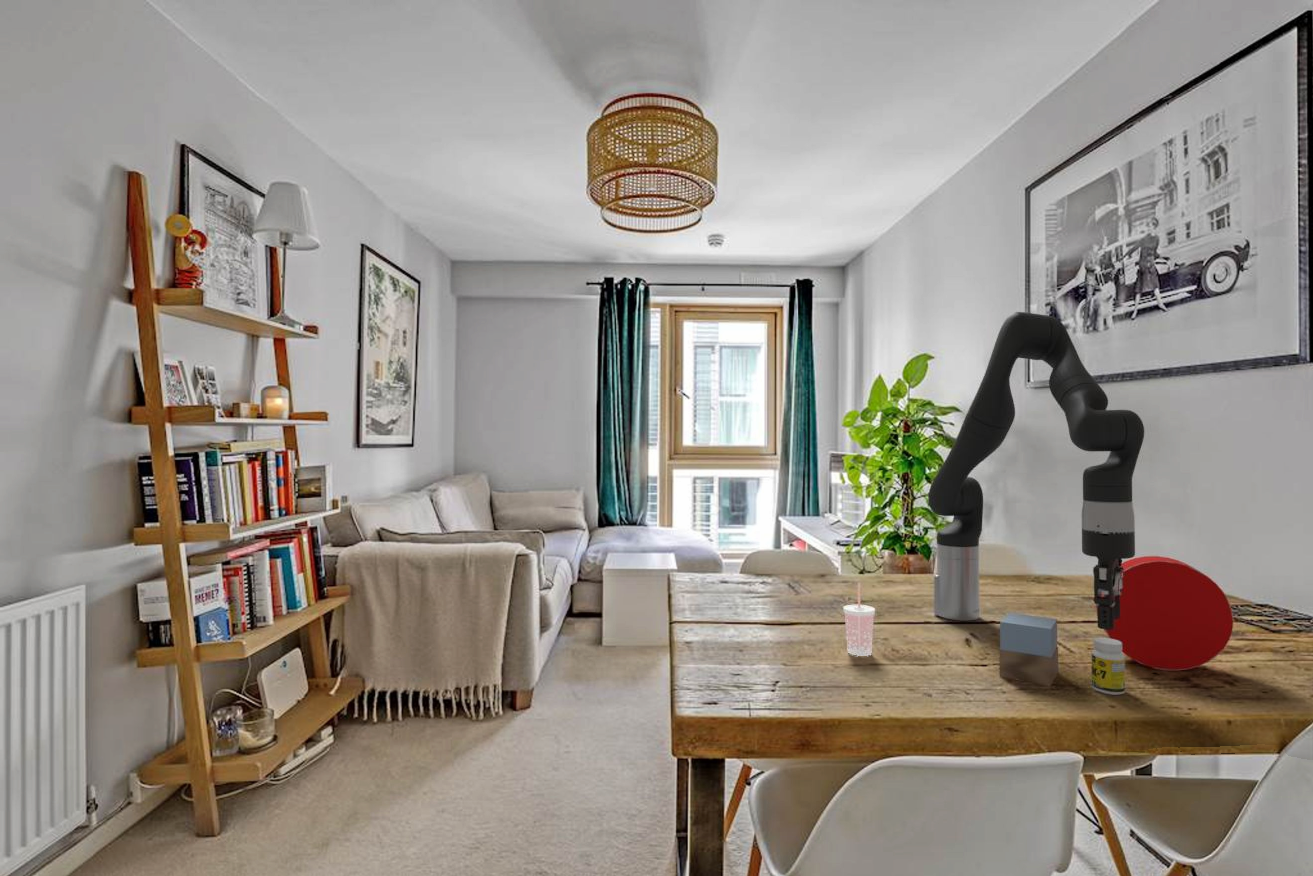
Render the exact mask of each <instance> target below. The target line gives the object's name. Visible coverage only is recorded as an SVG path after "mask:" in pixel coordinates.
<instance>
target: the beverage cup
mask: <svg viewBox="0 0 1313 876" xmlns="http://www.w3.org/2000/svg"><path fill="white" fill-rule="evenodd" d="M842 609H843V613H844V619H845V620H844V621H845V633H846V634H845V637H846V648H847V651H848V652H847V651H846V652H847V654H848V653H850V654H852V655H851V656H853V655H857V656H856V657H858V656H867V657H869V656H868V655H870V656H871V655H872V654H871V653H872V652H873V636H874V635H873V633H874V618H875V614H876V609H875V607H872V606H870V605H865V604H861V583H860V582H857V604H848V605H844V606H842ZM850 654H849V655H850Z"/></svg>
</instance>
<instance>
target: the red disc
mask: <svg viewBox="0 0 1313 876" xmlns="http://www.w3.org/2000/svg"><path fill="white" fill-rule="evenodd" d="M1122 567H1123V569H1124V573H1123V589H1122V591H1121V592H1122V595H1121V597H1120V618H1119V619H1114V628H1113V630H1105V629H1103V631H1104V632H1105V633H1106V635H1107V637H1108V638H1110V639H1115V640H1118V641H1120V642H1122V652H1121V653H1122V654H1123V655H1126V656H1127V657H1129V658H1130V660H1131V659H1132V660H1133V661H1135V662H1136V663H1139V664H1141V665H1144V666H1147V667H1150V668H1152V669H1157V670H1163V671H1183V670H1184V671H1185V670H1189V669H1193V668H1198V667H1200V666H1202V665H1204V664H1207V663H1209V662H1211V661H1212V660H1213V659H1215V658H1216V657H1217V656H1219V655H1220V653H1221V652H1222V651H1223V650H1224V649H1225V647H1226V646H1227V644H1228V642H1229V641H1230V639H1231V636H1232V633H1233V629H1234V628H1233V626H1234V614H1233V610H1232V607H1231V603H1230V600H1229V599H1228V597H1227V596H1226V594H1225V592H1224V591H1223V590H1222V589H1221V587H1220V586H1219V585H1218V584H1217V583H1216V582H1215V581H1214V580H1213V579H1212V578H1211V577H1209V576H1208V575H1206V574H1204V573H1203V572H1201V571H1200V570H1198V569H1196V568H1195V567H1193V566H1191V565H1189V564H1188V563H1185V562H1183V561H1180V560H1179V559H1178V560H1177V559H1174V558H1170V557H1166V556H1159V555H1148V556H1147V555H1146V556H1145V555H1144V556H1140V557H1134V558H1132V559H1131V558H1130V559H1128V560H1125V561H1124V562H1123V561H1122ZM1104 596H1107V595H1104V594H1101V597H1104ZM1097 606H1098V605H1096V604H1095V611H1096V612H1097Z"/></svg>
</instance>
